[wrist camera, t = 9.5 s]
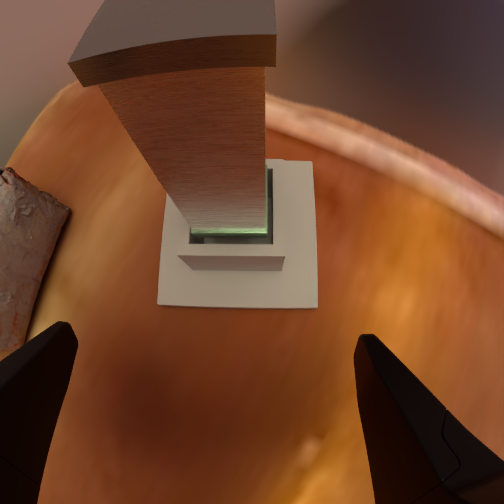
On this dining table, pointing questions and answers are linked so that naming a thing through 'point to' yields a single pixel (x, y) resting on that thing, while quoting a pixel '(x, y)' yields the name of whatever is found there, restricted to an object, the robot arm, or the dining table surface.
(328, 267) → the dining table surface
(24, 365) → the robot arm
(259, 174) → the column
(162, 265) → the stand base
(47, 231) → the food item
